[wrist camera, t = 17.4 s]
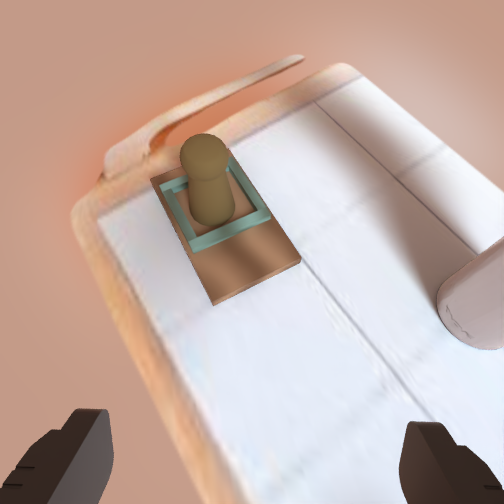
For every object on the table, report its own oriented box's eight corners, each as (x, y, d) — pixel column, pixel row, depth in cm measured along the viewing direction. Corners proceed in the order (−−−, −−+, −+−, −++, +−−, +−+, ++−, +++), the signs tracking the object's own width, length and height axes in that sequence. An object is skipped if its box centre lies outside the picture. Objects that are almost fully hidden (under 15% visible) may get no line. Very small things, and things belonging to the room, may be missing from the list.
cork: (196, 185, 47) (182, 120, 37) (239, 192, 47) (237, 129, 37) (183, 222, 44) (165, 163, 35) (229, 230, 44) (224, 172, 34)
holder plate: (228, 155, 52) (228, 142, 49) (299, 262, 44) (302, 253, 41) (152, 185, 49) (147, 173, 47) (213, 306, 41) (211, 298, 38)
